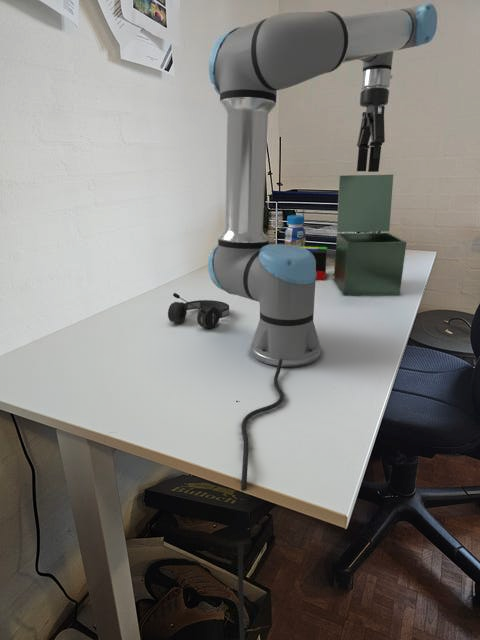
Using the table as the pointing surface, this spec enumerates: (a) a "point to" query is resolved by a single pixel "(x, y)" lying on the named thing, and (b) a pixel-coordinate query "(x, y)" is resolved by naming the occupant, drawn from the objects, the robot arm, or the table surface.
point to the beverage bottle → (295, 231)
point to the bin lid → (364, 203)
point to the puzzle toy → (319, 260)
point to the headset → (205, 316)
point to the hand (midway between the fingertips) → (366, 171)
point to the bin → (369, 263)
